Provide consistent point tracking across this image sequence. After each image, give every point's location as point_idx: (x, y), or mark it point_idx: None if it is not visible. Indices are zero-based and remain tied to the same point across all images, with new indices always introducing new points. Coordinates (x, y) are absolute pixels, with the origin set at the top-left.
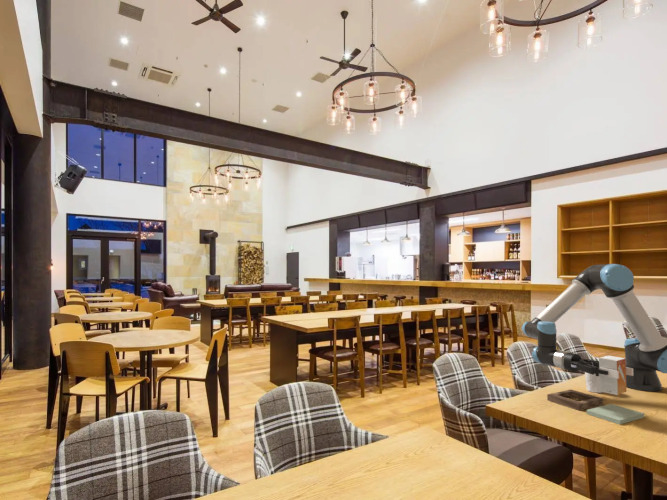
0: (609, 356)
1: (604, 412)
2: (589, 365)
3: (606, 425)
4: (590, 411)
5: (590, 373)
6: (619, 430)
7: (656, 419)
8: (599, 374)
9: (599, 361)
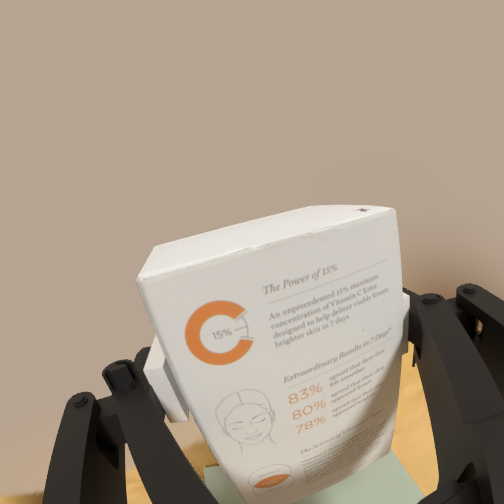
0: (199, 251)
1: (368, 490)
2: (476, 350)
3: (419, 418)
4: (424, 496)
5: (477, 336)
6: (402, 392)
7: (192, 455)
8: (400, 368)
9: (397, 247)
